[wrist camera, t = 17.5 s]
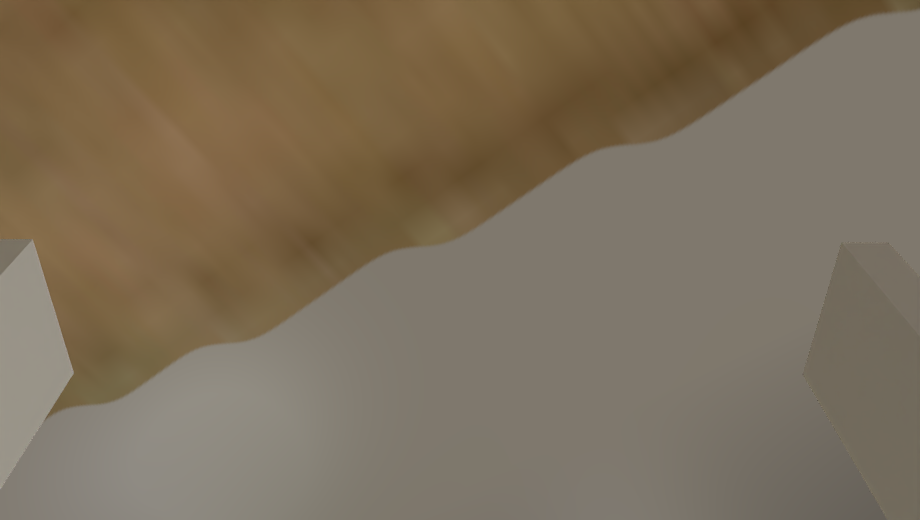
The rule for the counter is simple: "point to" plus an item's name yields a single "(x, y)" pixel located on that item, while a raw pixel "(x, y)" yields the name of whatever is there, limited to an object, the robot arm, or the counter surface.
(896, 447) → the robot arm
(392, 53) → the counter surface
